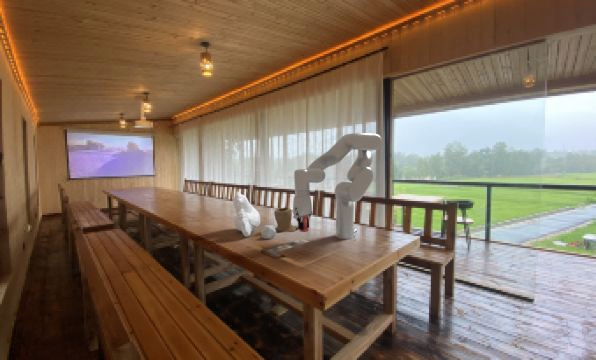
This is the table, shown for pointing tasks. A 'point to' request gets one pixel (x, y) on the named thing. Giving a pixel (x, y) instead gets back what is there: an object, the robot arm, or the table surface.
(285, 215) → the stone cup
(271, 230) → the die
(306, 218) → the pawn
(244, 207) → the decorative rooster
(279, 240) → the table surface
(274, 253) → the board
